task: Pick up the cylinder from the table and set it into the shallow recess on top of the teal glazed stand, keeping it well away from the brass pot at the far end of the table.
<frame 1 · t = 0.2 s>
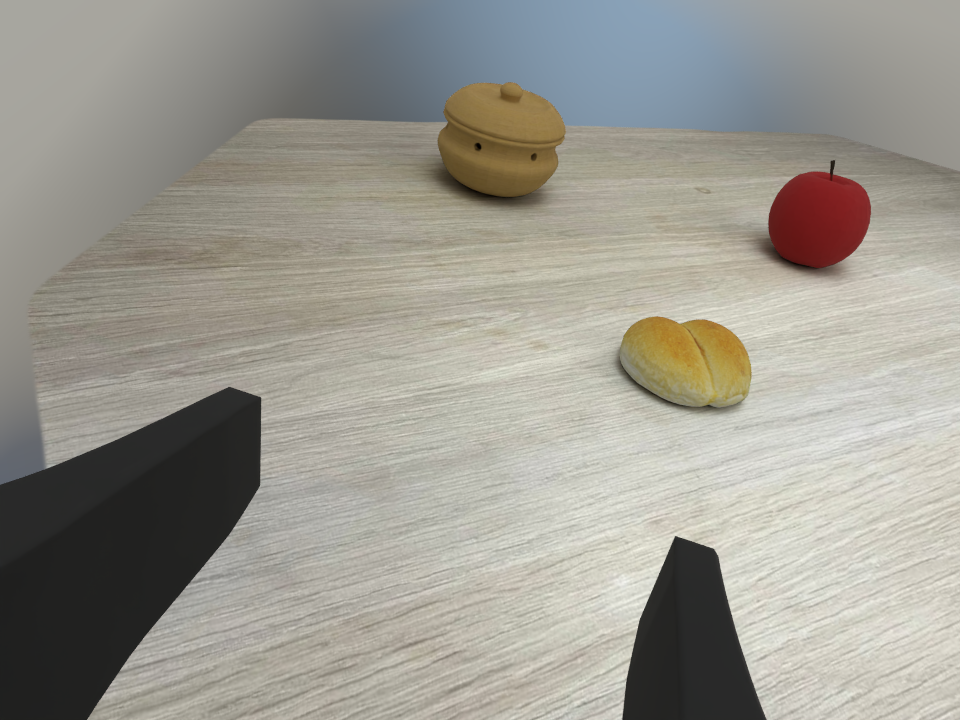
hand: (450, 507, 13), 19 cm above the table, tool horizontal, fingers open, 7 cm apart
pot: (489, 187, 79), on the table
apple: (798, 259, 80), on the table
bread roll: (679, 378, 57), on the table
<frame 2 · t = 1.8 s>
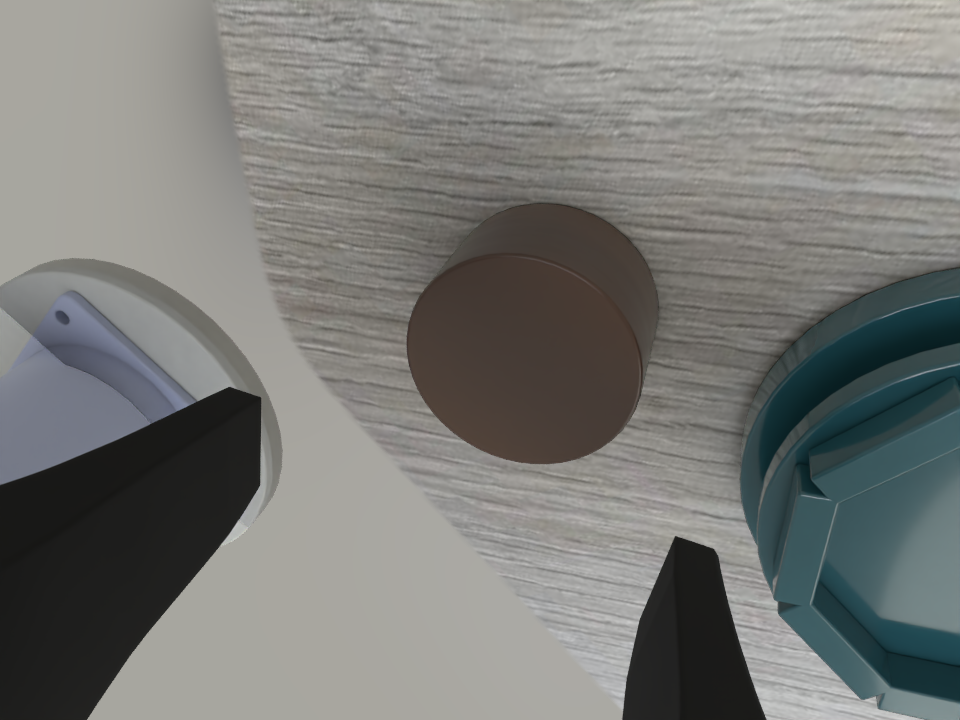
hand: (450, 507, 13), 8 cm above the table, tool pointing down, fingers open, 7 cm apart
cylinder: (550, 305, 20), on the table
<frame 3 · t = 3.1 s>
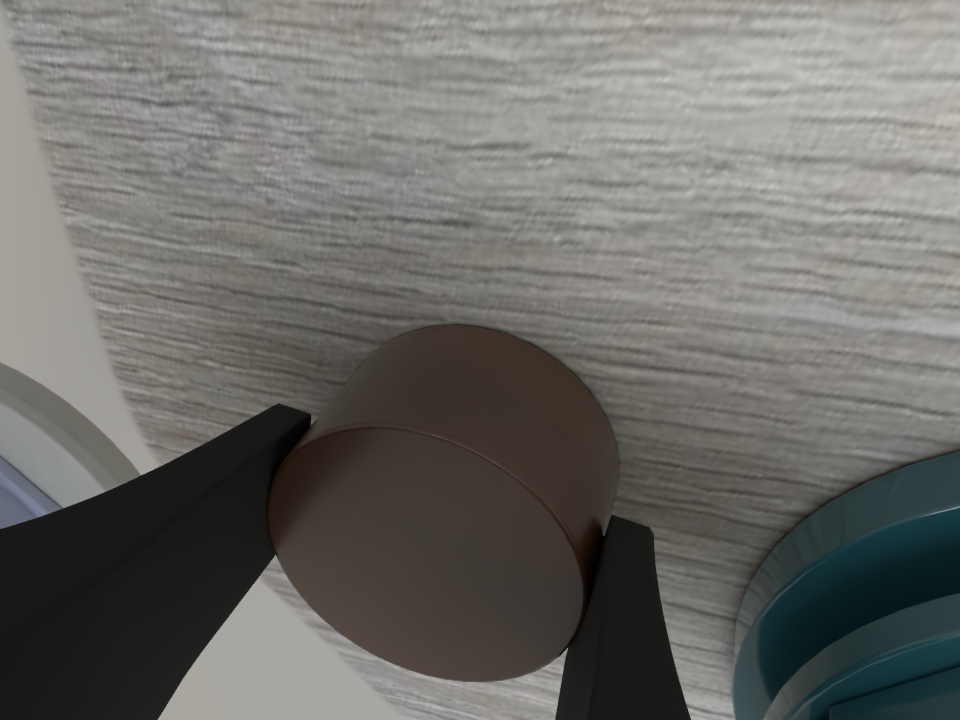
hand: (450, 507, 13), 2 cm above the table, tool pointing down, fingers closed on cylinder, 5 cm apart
cylinder: (477, 449, 15), on the table, touching gripper
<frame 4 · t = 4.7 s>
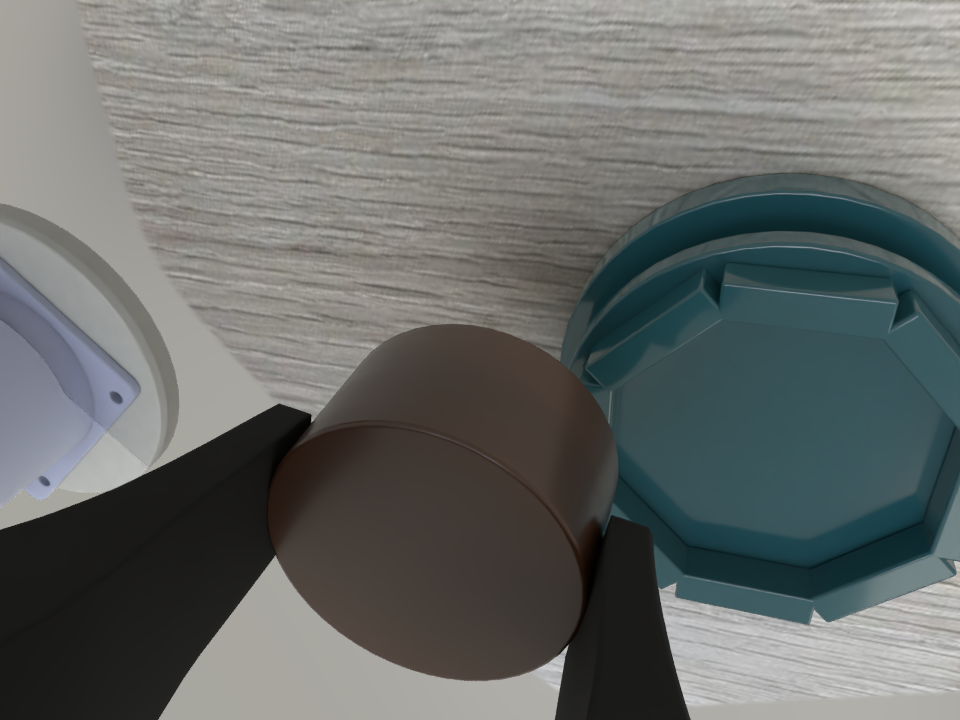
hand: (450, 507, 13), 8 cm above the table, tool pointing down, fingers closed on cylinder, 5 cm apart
stand: (769, 372, 20), on the table
cylinder: (476, 448, 15), point 7 cm above the table, touching gripper
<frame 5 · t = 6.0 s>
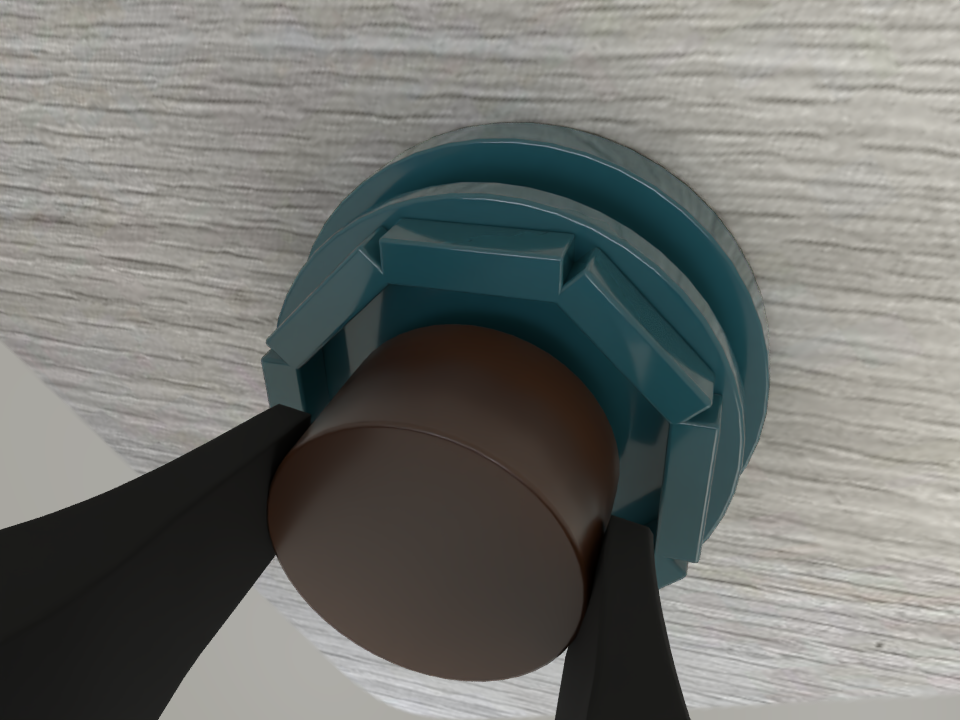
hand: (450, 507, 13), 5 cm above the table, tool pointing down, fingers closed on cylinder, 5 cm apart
stand: (528, 350, 18), on the table
cylinder: (477, 448, 15), point 4 cm above the table, touching gripper
when the fingers open (5 cm above the table, at t = 6.7 s): cylinder stays where it is, resting on stand.
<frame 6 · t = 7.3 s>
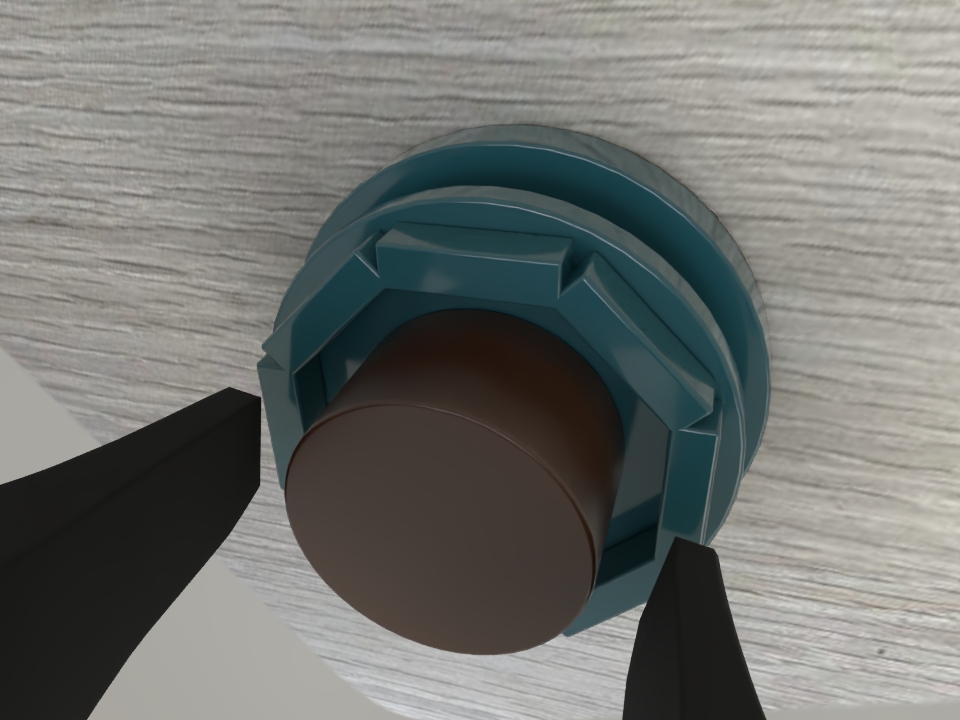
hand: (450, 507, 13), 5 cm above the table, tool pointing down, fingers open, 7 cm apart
stand: (527, 354, 18), on the table
cylinder: (486, 431, 15), point 3 cm above the table, touching stand
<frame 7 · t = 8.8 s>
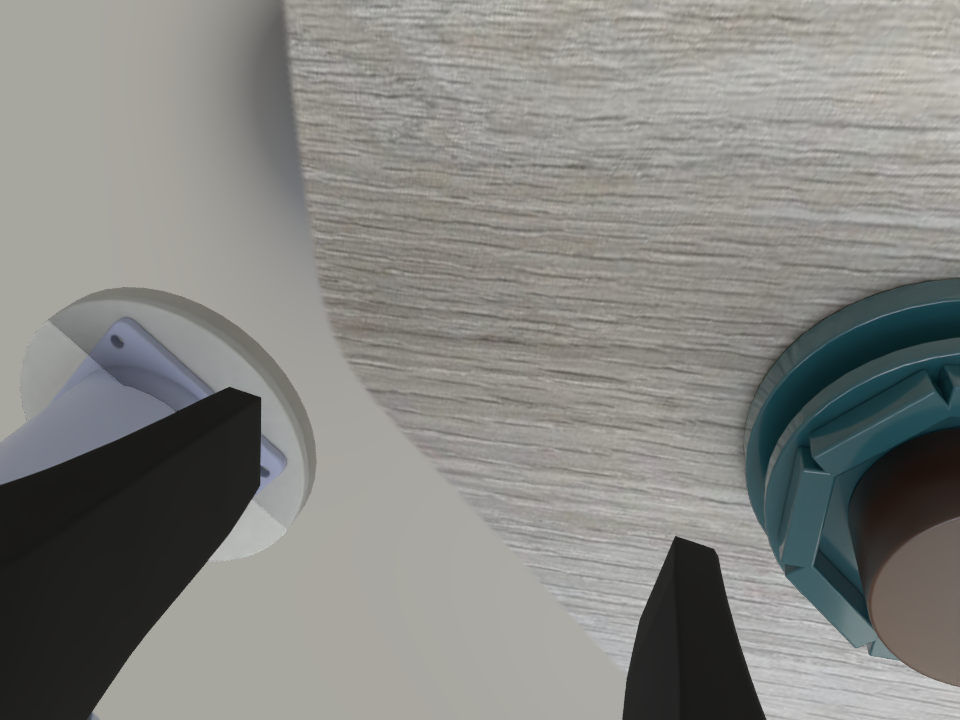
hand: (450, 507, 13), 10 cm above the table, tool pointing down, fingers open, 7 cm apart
stand: (935, 446, 22), on the table
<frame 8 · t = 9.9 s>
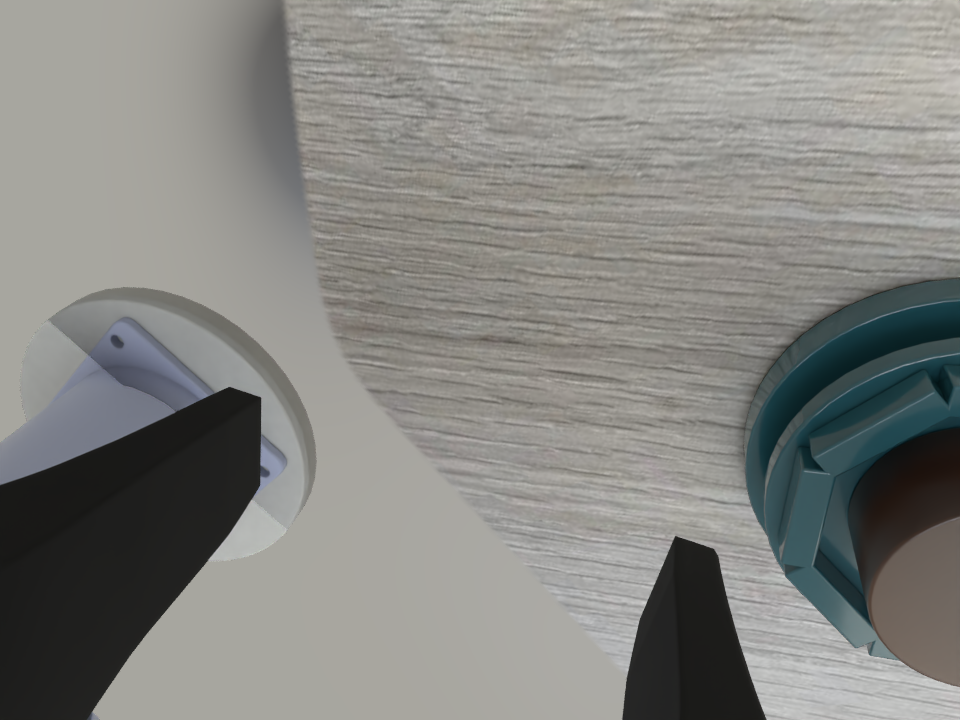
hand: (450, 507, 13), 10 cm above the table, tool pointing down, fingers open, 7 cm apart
stand: (935, 446, 22), on the table
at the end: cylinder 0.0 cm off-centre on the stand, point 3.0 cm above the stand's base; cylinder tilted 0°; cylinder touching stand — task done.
